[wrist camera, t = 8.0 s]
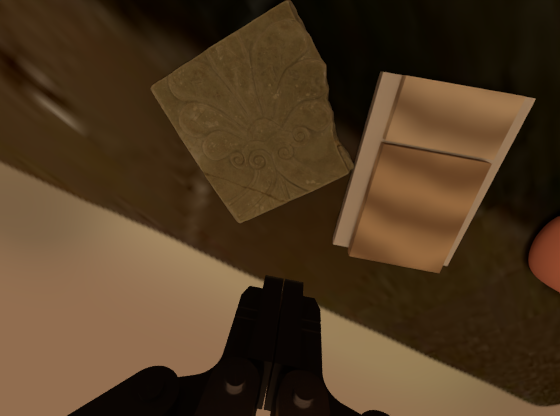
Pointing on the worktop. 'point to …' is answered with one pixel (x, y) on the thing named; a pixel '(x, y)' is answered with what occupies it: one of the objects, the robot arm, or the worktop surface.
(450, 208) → the honey oak plank
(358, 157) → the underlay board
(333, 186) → the worktop surface
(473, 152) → the light oak plank
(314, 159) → the decorative tile
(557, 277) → the teapot
